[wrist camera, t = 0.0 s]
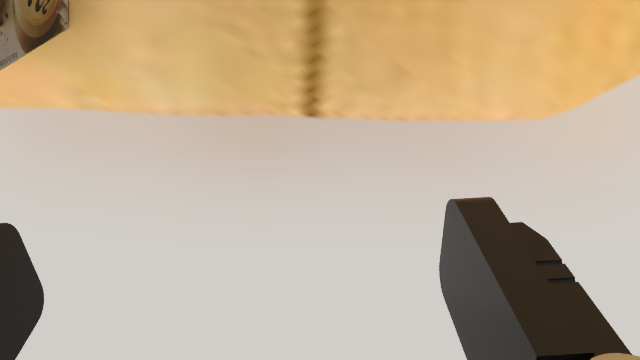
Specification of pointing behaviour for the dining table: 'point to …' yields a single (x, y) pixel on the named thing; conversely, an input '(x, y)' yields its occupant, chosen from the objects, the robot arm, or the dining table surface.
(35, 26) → the coffee box
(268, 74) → the dining table surface
